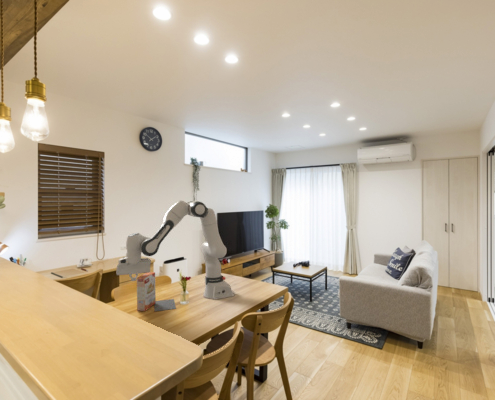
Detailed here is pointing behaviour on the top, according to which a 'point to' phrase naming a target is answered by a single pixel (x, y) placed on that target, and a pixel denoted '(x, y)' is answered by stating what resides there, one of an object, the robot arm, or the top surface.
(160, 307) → the mat
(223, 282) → the robot arm
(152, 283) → the cracker box
